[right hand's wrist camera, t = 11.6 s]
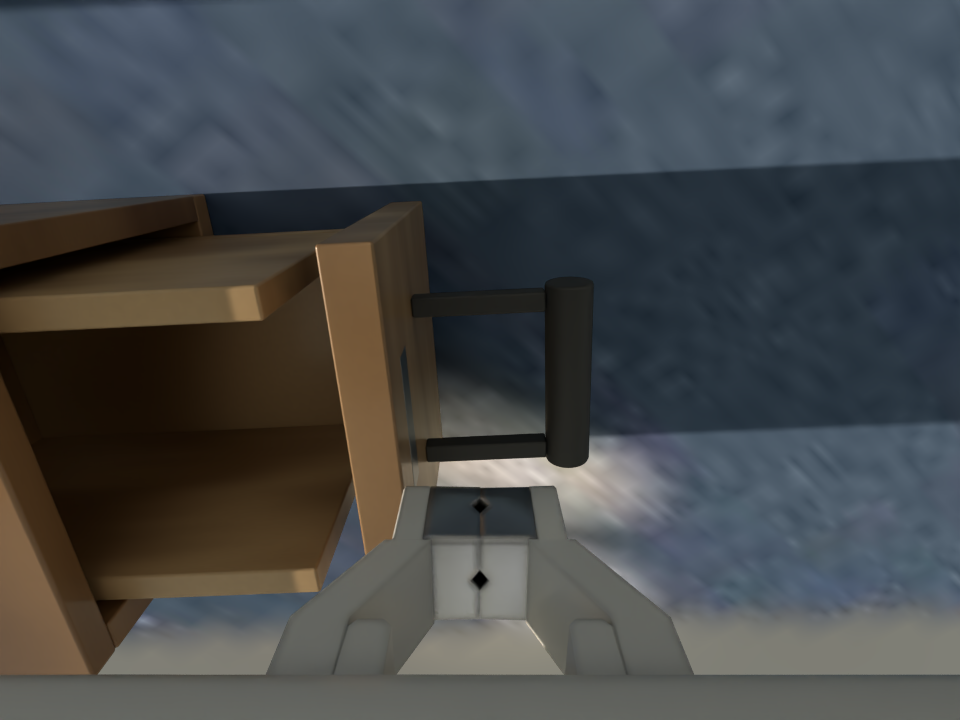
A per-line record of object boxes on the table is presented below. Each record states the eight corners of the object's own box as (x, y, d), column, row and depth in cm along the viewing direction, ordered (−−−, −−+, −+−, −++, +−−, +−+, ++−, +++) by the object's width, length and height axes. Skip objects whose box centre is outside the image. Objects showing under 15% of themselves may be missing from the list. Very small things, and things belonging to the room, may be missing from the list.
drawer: (566, 193, 19) (641, 227, 10) (564, 434, 23) (618, 611, 14) (-34, 224, 20) (-457, 284, 11) (58, 456, 23) (-200, 643, 14)
